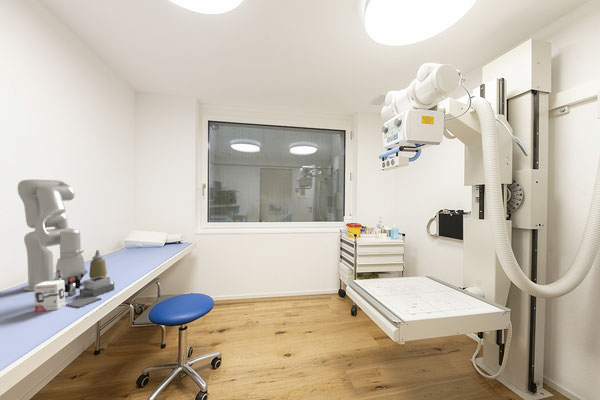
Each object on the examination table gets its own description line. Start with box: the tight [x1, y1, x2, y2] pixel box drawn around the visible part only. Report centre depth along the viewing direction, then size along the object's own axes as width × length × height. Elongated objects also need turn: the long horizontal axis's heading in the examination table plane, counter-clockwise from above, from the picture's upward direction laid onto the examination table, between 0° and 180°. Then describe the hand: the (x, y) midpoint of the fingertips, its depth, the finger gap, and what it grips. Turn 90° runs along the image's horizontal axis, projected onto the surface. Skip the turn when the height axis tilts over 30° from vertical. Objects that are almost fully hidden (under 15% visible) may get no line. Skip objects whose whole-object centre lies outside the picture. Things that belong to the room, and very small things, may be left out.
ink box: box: [34, 279, 66, 313], centre depth 105 cm, size 8×5×12 cm, turn 103°
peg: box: [67, 276, 77, 297], centre depth 119 cm, size 3×3×10 cm
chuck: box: [79, 276, 115, 297], centre depth 124 cm, size 10×13×7 cm
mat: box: [65, 296, 102, 309], centre depth 111 cm, size 9×9×1 cm
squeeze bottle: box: [88, 250, 108, 279], centre depth 140 cm, size 8×8×18 cm
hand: (71, 289), depth 119 cm, fingers open, 3 cm apart
